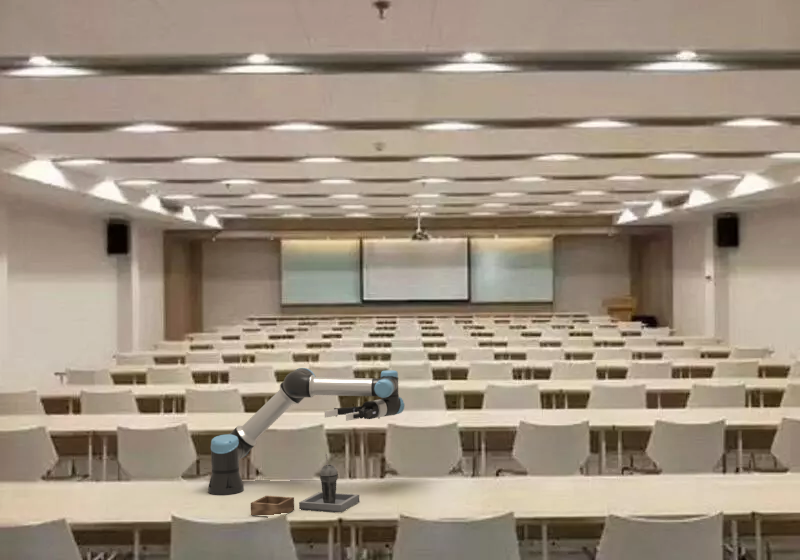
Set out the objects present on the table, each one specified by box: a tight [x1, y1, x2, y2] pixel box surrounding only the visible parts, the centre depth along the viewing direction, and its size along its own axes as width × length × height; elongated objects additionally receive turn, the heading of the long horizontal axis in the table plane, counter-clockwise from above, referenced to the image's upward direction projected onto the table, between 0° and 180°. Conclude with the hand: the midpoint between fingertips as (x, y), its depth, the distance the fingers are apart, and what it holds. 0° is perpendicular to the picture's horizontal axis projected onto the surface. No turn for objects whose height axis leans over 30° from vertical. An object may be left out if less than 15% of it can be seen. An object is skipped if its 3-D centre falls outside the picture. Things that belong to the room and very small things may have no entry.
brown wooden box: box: [250, 495, 295, 516], centre depth 382 cm, size 12×12×5 cm
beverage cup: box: [319, 453, 339, 504], centre depth 391 cm, size 7×7×20 cm
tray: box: [298, 491, 360, 513], centre depth 391 cm, size 18×18×3 cm
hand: (335, 415), depth 404 cm, fingers open, 13 cm apart
